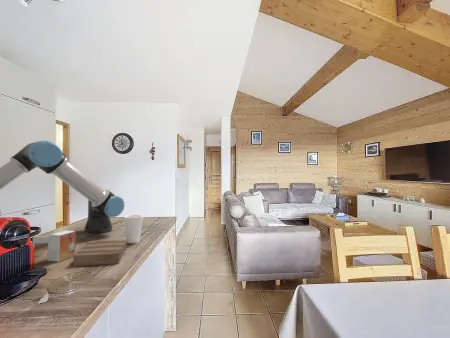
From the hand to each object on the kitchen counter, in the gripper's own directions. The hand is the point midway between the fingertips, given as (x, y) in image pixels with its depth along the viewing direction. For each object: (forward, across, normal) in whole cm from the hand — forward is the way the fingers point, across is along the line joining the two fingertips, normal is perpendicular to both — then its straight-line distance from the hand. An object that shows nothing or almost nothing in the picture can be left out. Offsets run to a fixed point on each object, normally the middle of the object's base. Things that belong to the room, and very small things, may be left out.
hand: (42, 243), depth 99 cm
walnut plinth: (+22, 0, -6) cm, 23 cm away
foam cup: (+32, -22, -7) cm, 39 cm away
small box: (+7, 0, -7) cm, 9 cm away
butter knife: (+14, +24, -7) cm, 28 cm away
